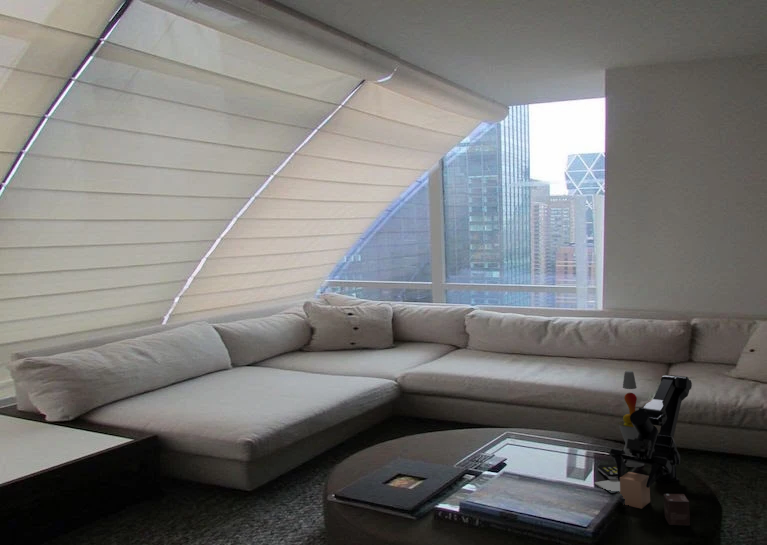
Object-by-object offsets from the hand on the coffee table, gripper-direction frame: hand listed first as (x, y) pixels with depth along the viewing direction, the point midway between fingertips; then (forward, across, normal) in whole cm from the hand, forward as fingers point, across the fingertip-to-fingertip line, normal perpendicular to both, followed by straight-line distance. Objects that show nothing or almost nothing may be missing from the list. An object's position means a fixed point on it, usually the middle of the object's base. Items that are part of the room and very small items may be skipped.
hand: (632, 483), depth 210 cm
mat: (-3, -11, +12) cm, 16 cm away
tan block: (+4, 0, +6) cm, 7 cm away
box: (+8, +15, +2) cm, 17 cm away
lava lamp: (-21, -16, +30) cm, 40 cm away
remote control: (-10, -17, +19) cm, 27 cm away
